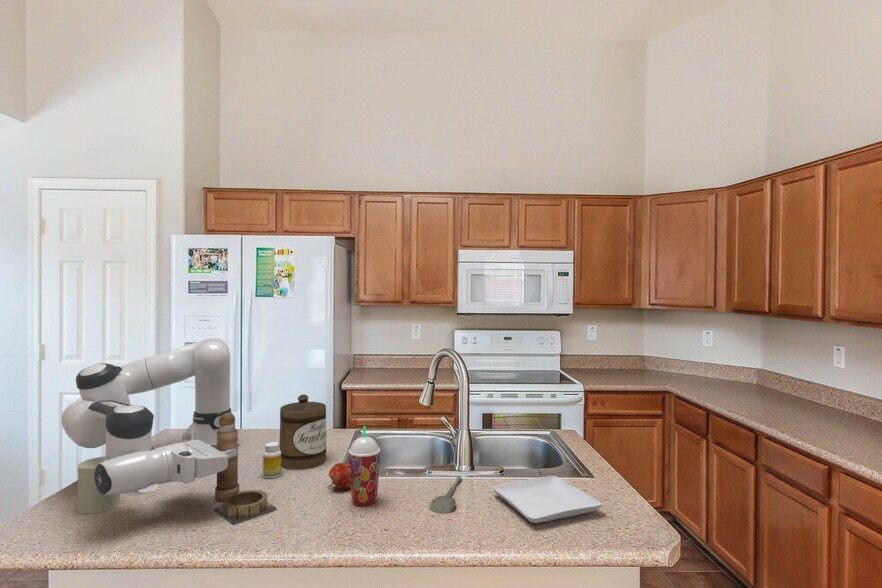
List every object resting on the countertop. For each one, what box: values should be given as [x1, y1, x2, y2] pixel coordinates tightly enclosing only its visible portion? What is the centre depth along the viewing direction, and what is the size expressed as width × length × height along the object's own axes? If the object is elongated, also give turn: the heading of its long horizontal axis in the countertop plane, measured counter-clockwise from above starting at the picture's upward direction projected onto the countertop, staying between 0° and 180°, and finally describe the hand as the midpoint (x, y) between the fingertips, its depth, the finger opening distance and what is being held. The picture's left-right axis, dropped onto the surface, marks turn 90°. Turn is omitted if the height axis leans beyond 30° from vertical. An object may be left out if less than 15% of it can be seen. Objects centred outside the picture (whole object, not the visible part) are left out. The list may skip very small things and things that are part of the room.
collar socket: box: [214, 489, 277, 526], centre depth 123 cm, size 11×11×3 cm
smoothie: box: [348, 425, 381, 507], centre depth 128 cm, size 8×8×20 cm
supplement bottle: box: [262, 441, 282, 479], centre depth 146 cm, size 5×5×10 cm
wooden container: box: [278, 394, 327, 470], centre depth 158 cm, size 15×15×22 cm
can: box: [76, 456, 122, 515], centre depth 125 cm, size 9×9×12 cm
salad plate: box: [491, 475, 603, 524], centre depth 126 cm, size 21×21×3 cm
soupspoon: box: [429, 476, 463, 515], centre depth 131 cm, size 22×3×7 cm
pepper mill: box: [214, 413, 240, 503], centre depth 130 cm, size 6×6×23 cm
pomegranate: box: [327, 462, 351, 491], centre depth 137 cm, size 7×7×10 cm
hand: (230, 448), depth 131 cm, fingers closed on pepper mill, 5 cm apart
